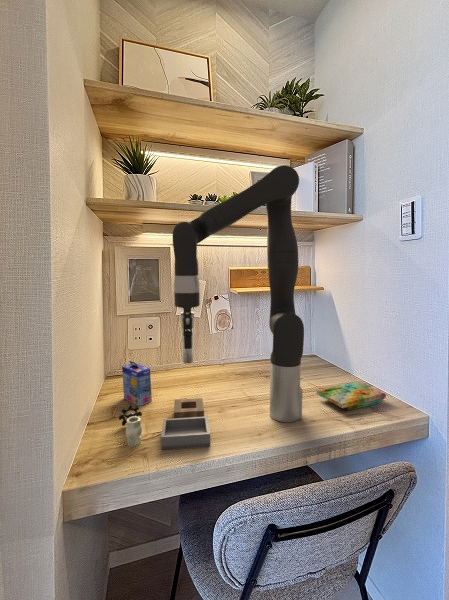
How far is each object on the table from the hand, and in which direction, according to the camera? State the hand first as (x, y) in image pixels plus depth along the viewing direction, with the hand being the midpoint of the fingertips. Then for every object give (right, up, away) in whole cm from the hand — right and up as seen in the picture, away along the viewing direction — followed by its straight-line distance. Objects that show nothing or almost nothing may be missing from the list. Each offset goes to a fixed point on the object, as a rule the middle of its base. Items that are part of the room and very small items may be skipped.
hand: (187, 346), depth 94 cm
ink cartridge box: (-20, -21, +15) cm, 33 cm away
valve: (-15, -24, -8) cm, 29 cm away
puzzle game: (+55, -22, +13) cm, 61 cm away
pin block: (0, -22, +2) cm, 23 cm away
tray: (+1, -24, -10) cm, 26 cm away
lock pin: (0, -5, 0) cm, 5 cm away
